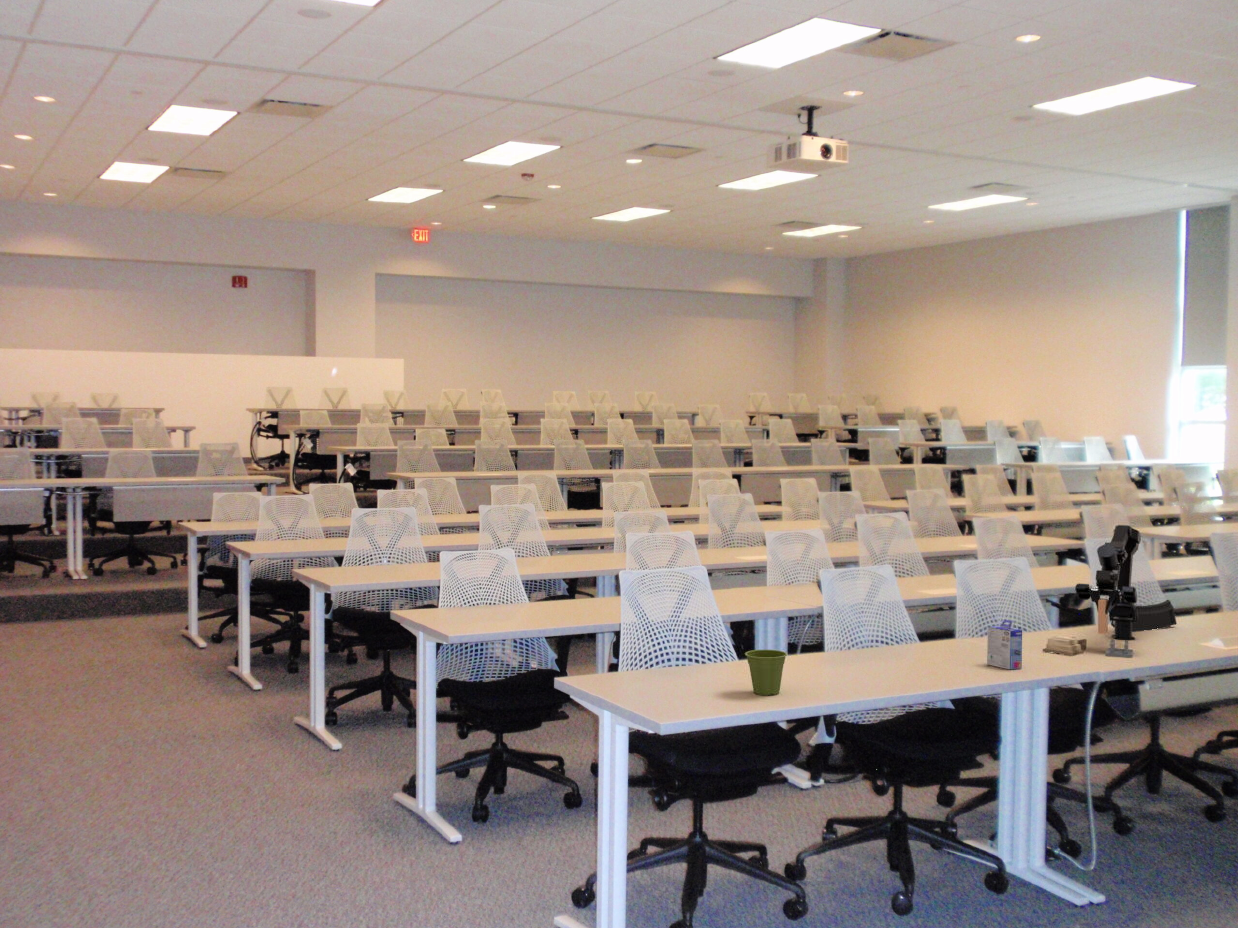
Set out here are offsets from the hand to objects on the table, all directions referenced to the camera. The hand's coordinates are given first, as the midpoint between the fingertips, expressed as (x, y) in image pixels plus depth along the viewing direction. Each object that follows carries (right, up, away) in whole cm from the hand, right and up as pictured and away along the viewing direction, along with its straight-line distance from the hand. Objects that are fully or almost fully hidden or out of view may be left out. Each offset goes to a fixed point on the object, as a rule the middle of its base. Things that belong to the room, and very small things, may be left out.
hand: (1102, 612), depth 377 cm
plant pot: (-119, -15, -57) cm, 133 cm away
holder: (+5, -13, -1) cm, 15 cm away
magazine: (+36, -13, +47) cm, 61 cm away
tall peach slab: (+1, -7, +1) cm, 7 cm away
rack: (-9, -13, +5) cm, 17 cm away
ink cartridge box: (-40, -14, -21) cm, 47 cm away
